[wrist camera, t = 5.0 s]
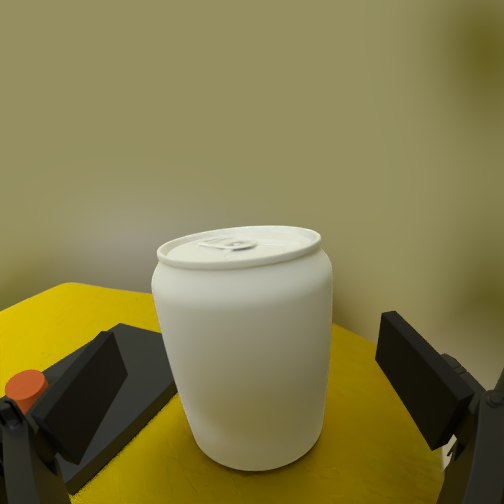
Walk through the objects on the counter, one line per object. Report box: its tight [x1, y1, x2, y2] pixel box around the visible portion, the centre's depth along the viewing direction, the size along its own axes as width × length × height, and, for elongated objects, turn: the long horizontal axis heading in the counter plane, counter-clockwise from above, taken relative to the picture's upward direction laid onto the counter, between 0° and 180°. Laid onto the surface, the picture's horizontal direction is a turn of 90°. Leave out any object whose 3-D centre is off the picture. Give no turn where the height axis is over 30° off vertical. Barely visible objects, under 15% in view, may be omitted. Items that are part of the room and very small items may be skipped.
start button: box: [5, 370, 49, 415], centre depth 12 cm, size 4×4×2 cm
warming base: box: [0, 323, 178, 495], centre depth 17 cm, size 18×12×3 cm, turn 159°
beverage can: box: [151, 226, 333, 471], centre depth 14 cm, size 8×8×12 cm
